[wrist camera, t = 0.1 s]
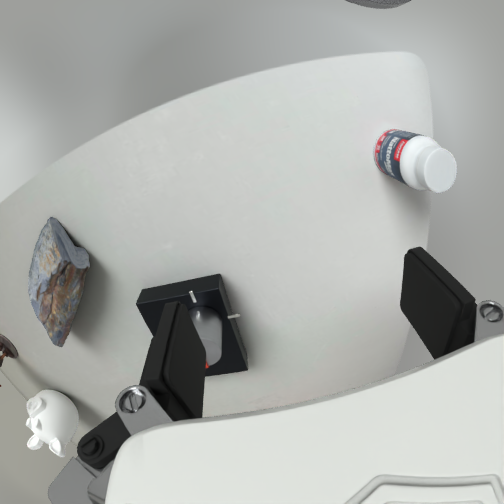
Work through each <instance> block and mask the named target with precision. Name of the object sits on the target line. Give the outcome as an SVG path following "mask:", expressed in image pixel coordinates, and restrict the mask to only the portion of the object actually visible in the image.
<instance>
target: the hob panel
mask: <svg viewBox="0 0 504 504" xmlns="http://www.w3.org/2000/svg"><path fill="white" fill-rule="evenodd" d="M176 301H179V302H180V303H181V304H185V305H186V307H187V310H188V311H189V310H190V309H192V308H195V307H208V308H211V309H213V310H215V311H216V312H218V313H219V315H220V316H221V318H222V350H221V357H220V359H219V360H218V361H217V362H216V363H215V364H213V365H210V366H209V368H206V369H205V377H206V376H214V375H221V374H228V373H235V372H241V371H247V370H248V362H247V353H246V350H245V347H244V344H243V342H242V339H241V336H240V333H239V330H238V327H237V324H236V321H235V317H240V313H238V314H233V312H232V309H231V306H230V303H229V300H228V297H227V294H226V291H225V288H224V285H223V281H222V278H221V275H220V274H216V275H211V276H206V277H201V278H196V279H192V280H187V281H182V282H177V283H172V284H167V285H162V286H157V287H152V288H147V289H142V291H141V293H140V296H139V298H138V300H137V303H136V305H137V307H138V309H139V311H140V313H141V315H142V317H143V319H144V320H145V322H146V324H147V326H148V328H149V330H150V331H151V333H152V335H153V337H154V336H156V333H157V329H158V326H159V322H160V319H161V316H162V312H163V309H164V306H165V304H166V303H171V302H176Z"/></svg>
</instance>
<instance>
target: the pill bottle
mask: <svg viewBox="0 0 504 504" xmlns="http://www.w3.org/2000/svg"><path fill="white" fill-rule="evenodd" d="M374 159H375V162H376V164H377V166H378V168H379V169H380V170H381V171H382V172H383V173H385V174H387V175H389V176H391V177H393V178H395V179H397V180H398V181H400V182H402V183H404V184H406V185H408V186H410V187H411V188H414V189H416V190H421V191H423V190H430V191H432V192H435V193H443V192H446V191H447V190H449V189H450V188H451V186H452V185H453V183H454V181H455V178H456V174H457V165H456V161H455V159H454V156H453V155H452V153H450V151H448V150H446V149H444V148H441V147H440V146H439V145H438V143H437V142H436V141H435V140H433V139H432V138H430V137H427V136H424V135H420V134H415V133H411V132H406V131H402V130H397V129H390V130H387V131H385V132H383V133H382V134H381V135H380V136H379V137H378V138H377V140H376V142H375V145H374Z"/></svg>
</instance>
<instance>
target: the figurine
mask: <svg viewBox="0 0 504 504" xmlns="http://www.w3.org/2000/svg"><path fill="white" fill-rule="evenodd" d="M0 351H2V352H3V355H2V356H1V357H0V367H1V366H2V362H3V358H4V357H5V356H6V357H8V356H9V357H11V358H17V356H18V353H17V351H16V349H15V347H14V346H13V344H12V343H11V342H10V341H9V340H8V339H7V338H6V337H4V336H3V335H1V334H0ZM0 387H1V385H0Z"/></svg>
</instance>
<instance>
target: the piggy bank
mask: <svg viewBox="0 0 504 504" xmlns="http://www.w3.org/2000/svg"><path fill="white" fill-rule="evenodd" d="M27 410H28V413H29V415H30V418H28V420H27V422H26V425H27V426H28V427H29V428H30V429H32V431H33V433H34V434H35V435H33V436H32V437H31V438H30V439H29V441H28V443H27V446H28V448H30V449H31V450H35V449H39V448H41V447H42V445H43V442H45V443H47V444H49V448H50V449H51V451H52V452H54V453H55V454H56V455H58V456H60V457H61V458H63V457H64V456H65V445H66V444H67V443H69V441H70V440H71V439H72V437H73V436H74V434H75V432H76V429H77V426H78V422H79V415H78V411H77V408H76V406H75V405H74V403H73V402H72V401H71V400H70V399H69V398H68V397H67V396H65V395H64V394H62V393H60V392H58V391H55V390H43V391H40V392H39V393H38V394H37V395H36V396H35V397H32V398H30V399H29V400H28V402H27Z"/></svg>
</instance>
